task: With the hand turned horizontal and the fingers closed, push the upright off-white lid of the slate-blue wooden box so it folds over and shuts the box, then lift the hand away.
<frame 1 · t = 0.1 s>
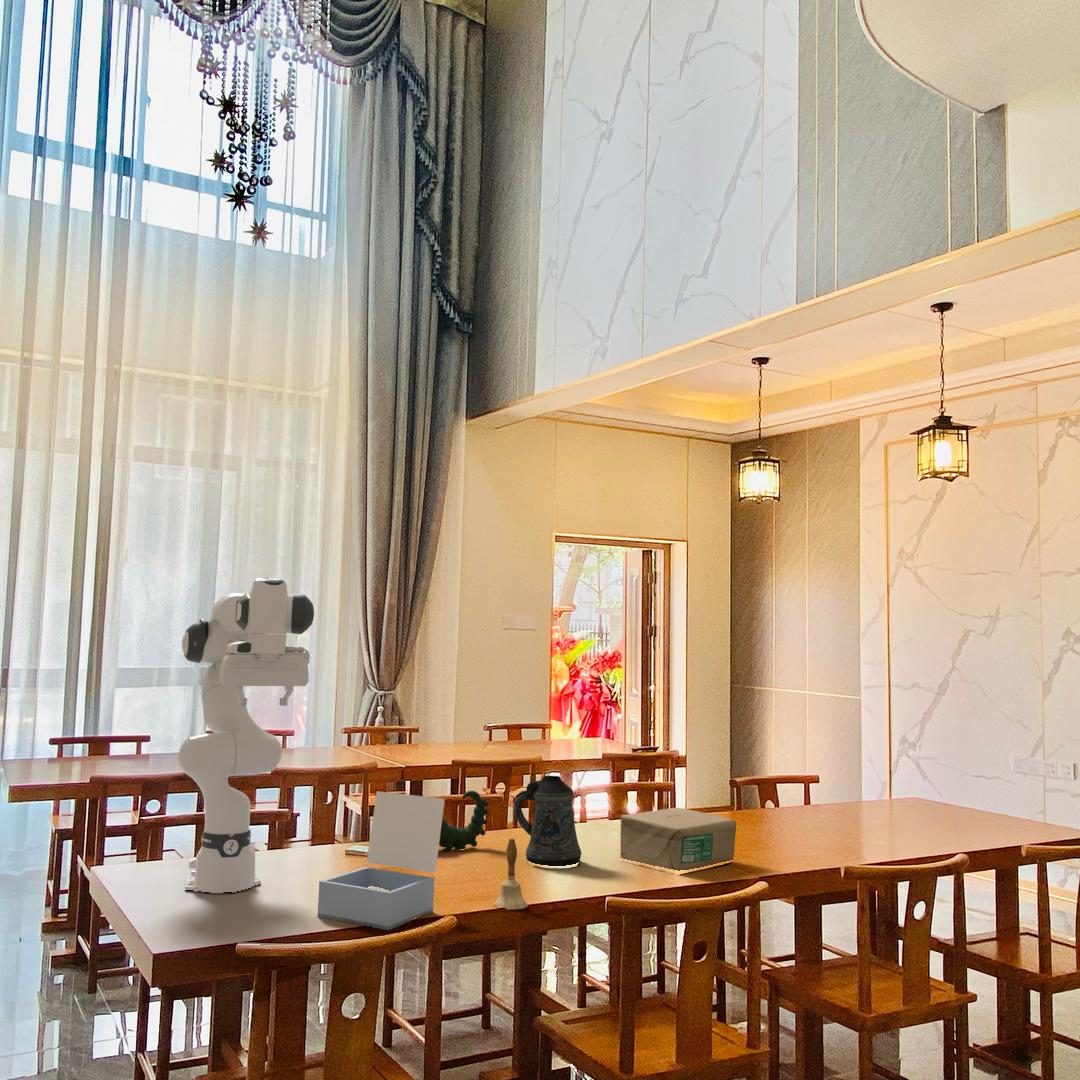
hand: (263, 705, 235), 48 cm above the table, tool pointing down, fingers open, 8 cm apart
beer stein: (548, 864, 296), on the table
lid: (405, 830, 247), point 18 cm above the table, hinge at 100.0°
box: (376, 914, 236), on the table
hand bell: (510, 906, 247), on the table
toy figurine: (447, 851, 311), on the table
paper package: (676, 863, 302), on the table
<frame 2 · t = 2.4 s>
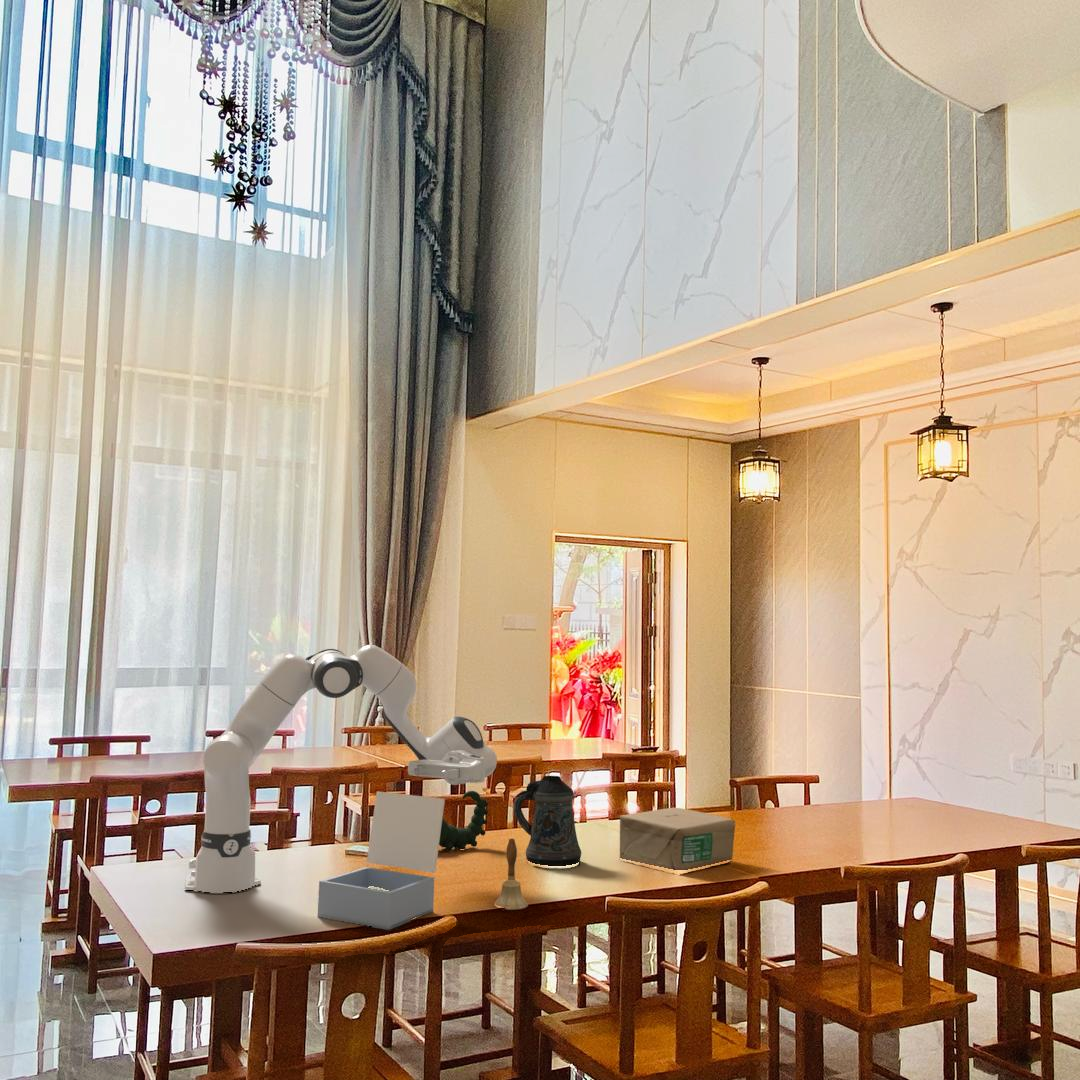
hand: (427, 773, 256), 31 cm above the table, tool horizontal, fingers open, 8 cm apart
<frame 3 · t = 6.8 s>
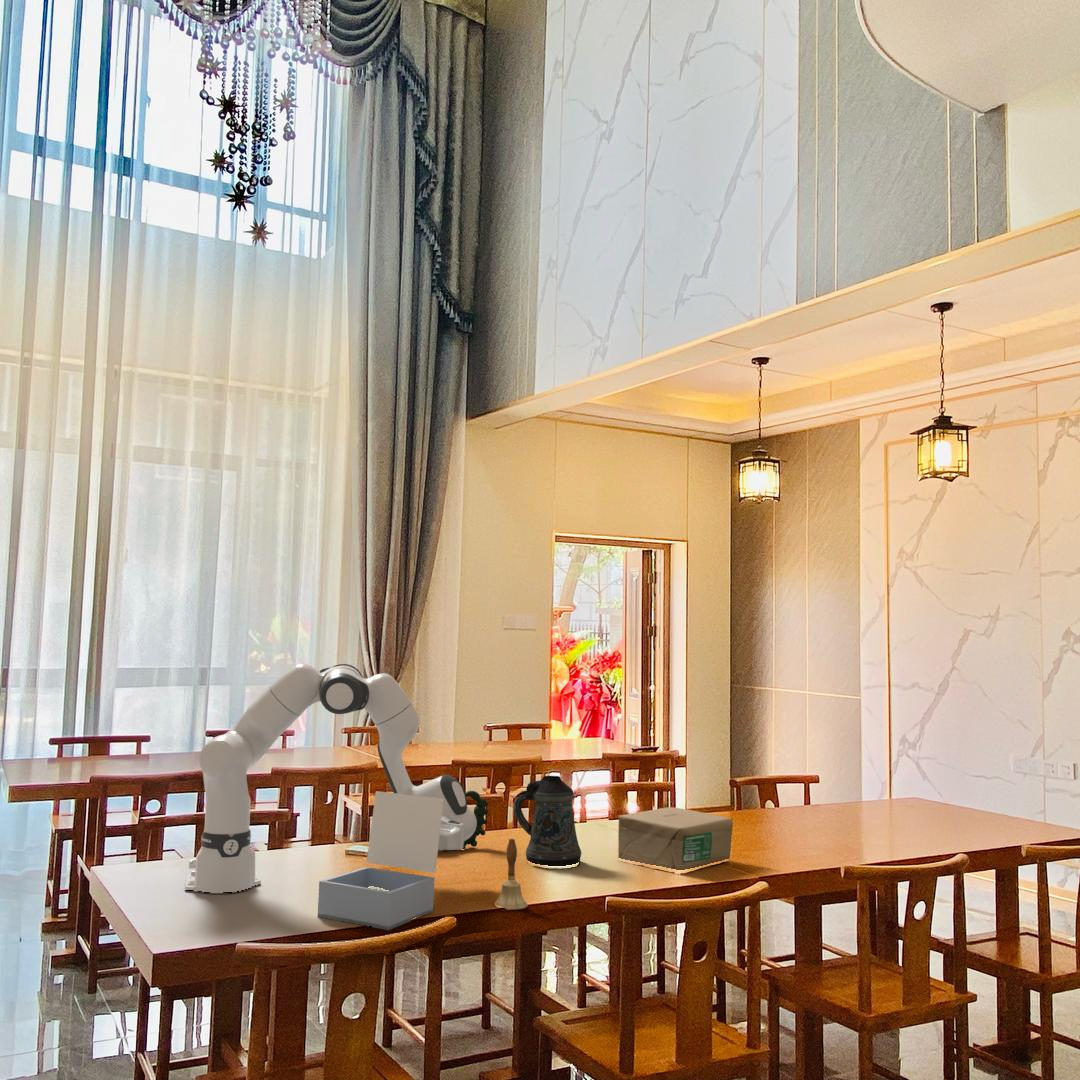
hand: (404, 841, 247), 15 cm above the table, tool horizontal, fingers closed, pressing on lid
lid: (405, 830, 247), point 18 cm above the table, hinge at 98.6°, touching gripper
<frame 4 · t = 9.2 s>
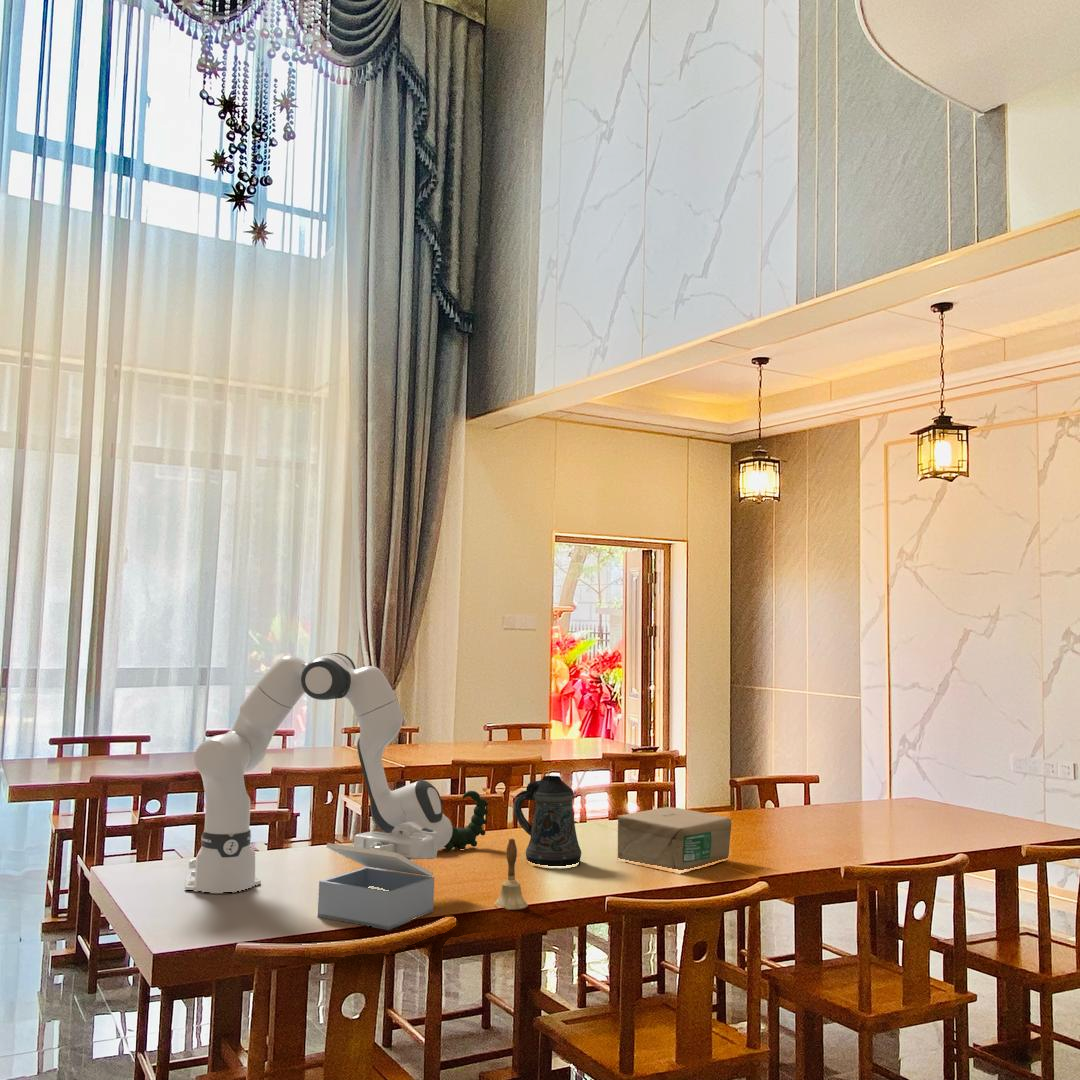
hand: (374, 850, 236), 15 cm above the table, tool horizontal, fingers closed
lid: (380, 859, 238), point 12 cm above the table, hinge at 24.7°
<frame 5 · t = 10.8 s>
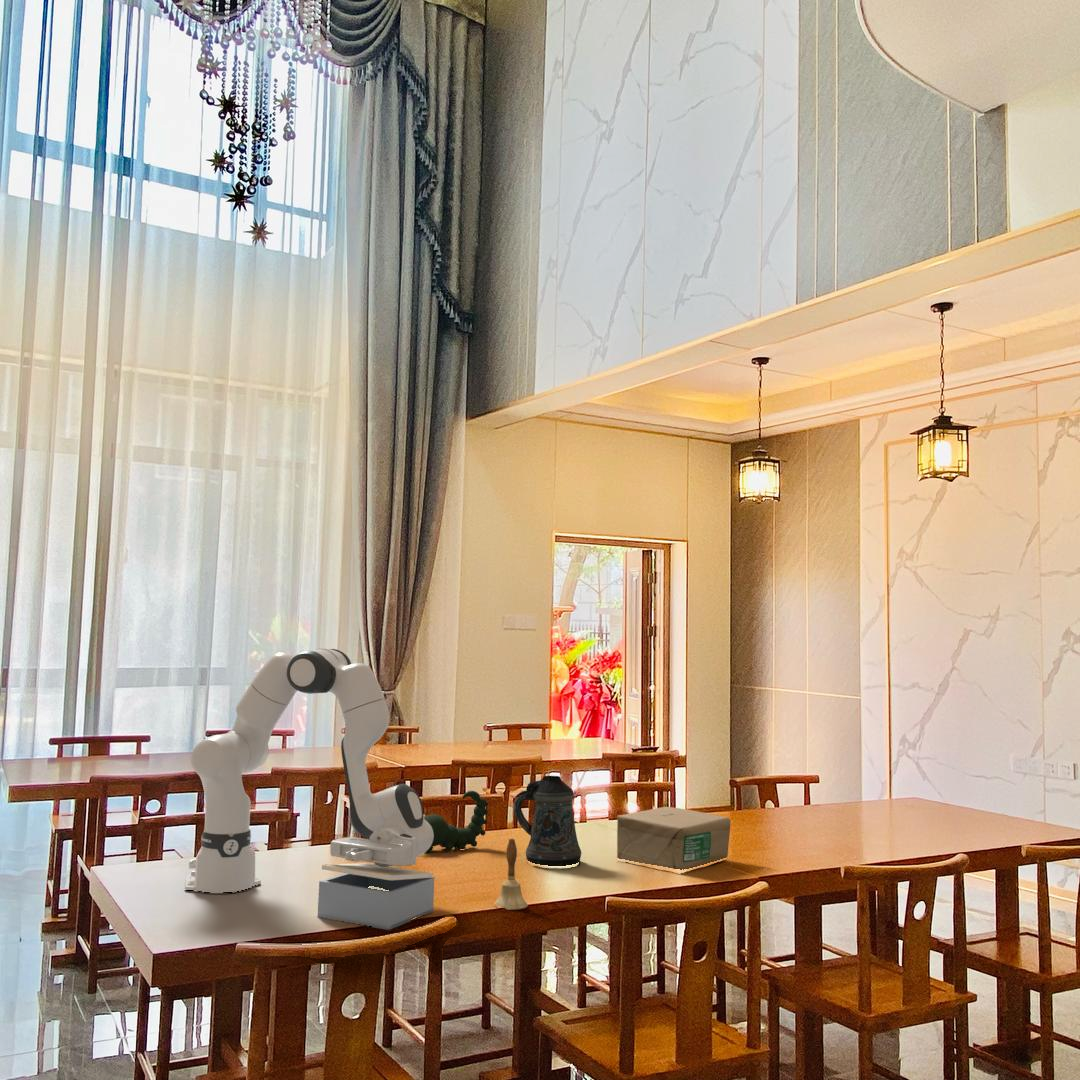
hand: (350, 857, 228), 15 cm above the table, tool horizontal, fingers closed
lid: (378, 870, 237), point 10 cm above the table, hinge at 8.6°
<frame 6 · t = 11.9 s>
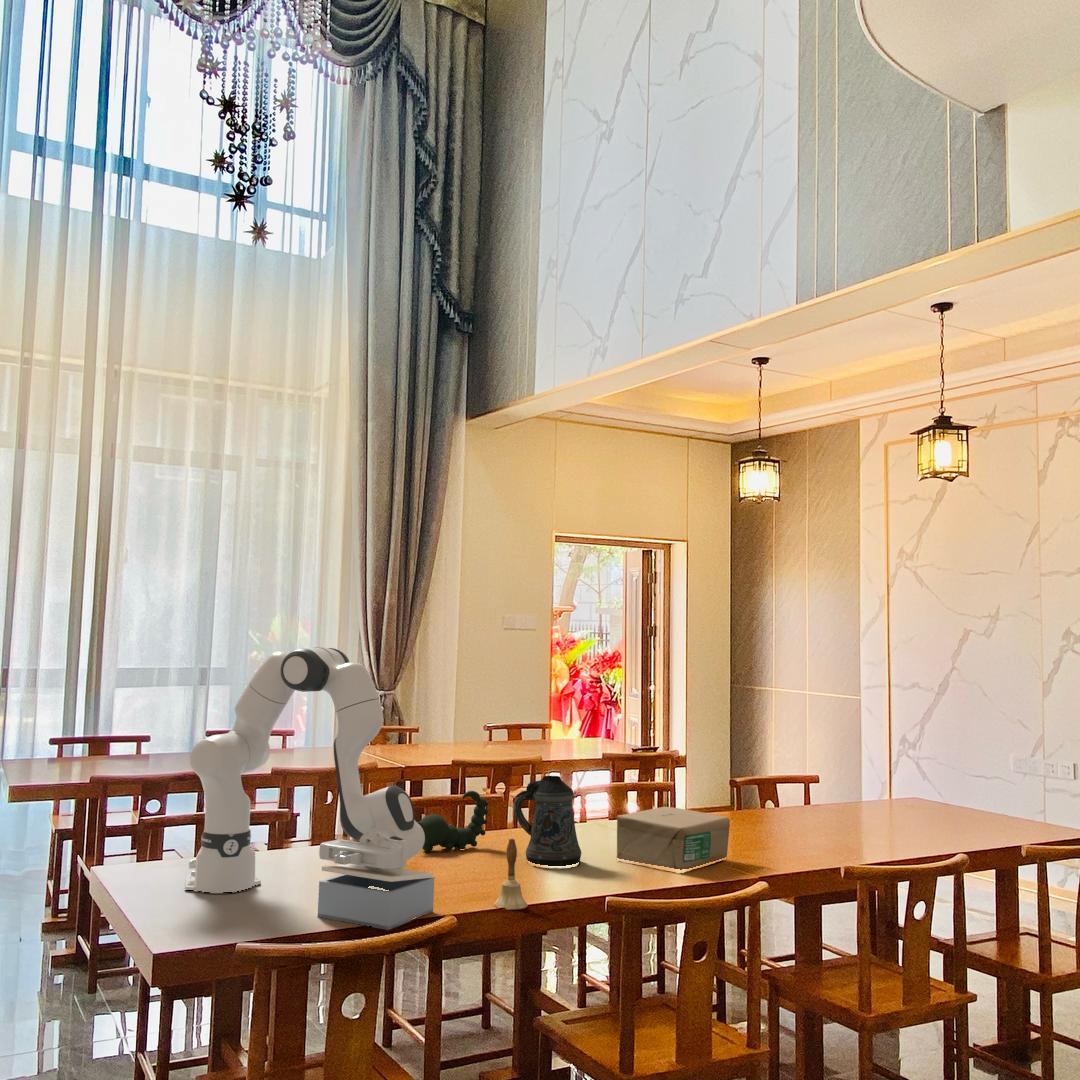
hand: (339, 860, 224), 15 cm above the table, tool horizontal, fingers closed
lid: (377, 871, 237), point 10 cm above the table, hinge at 7.6°
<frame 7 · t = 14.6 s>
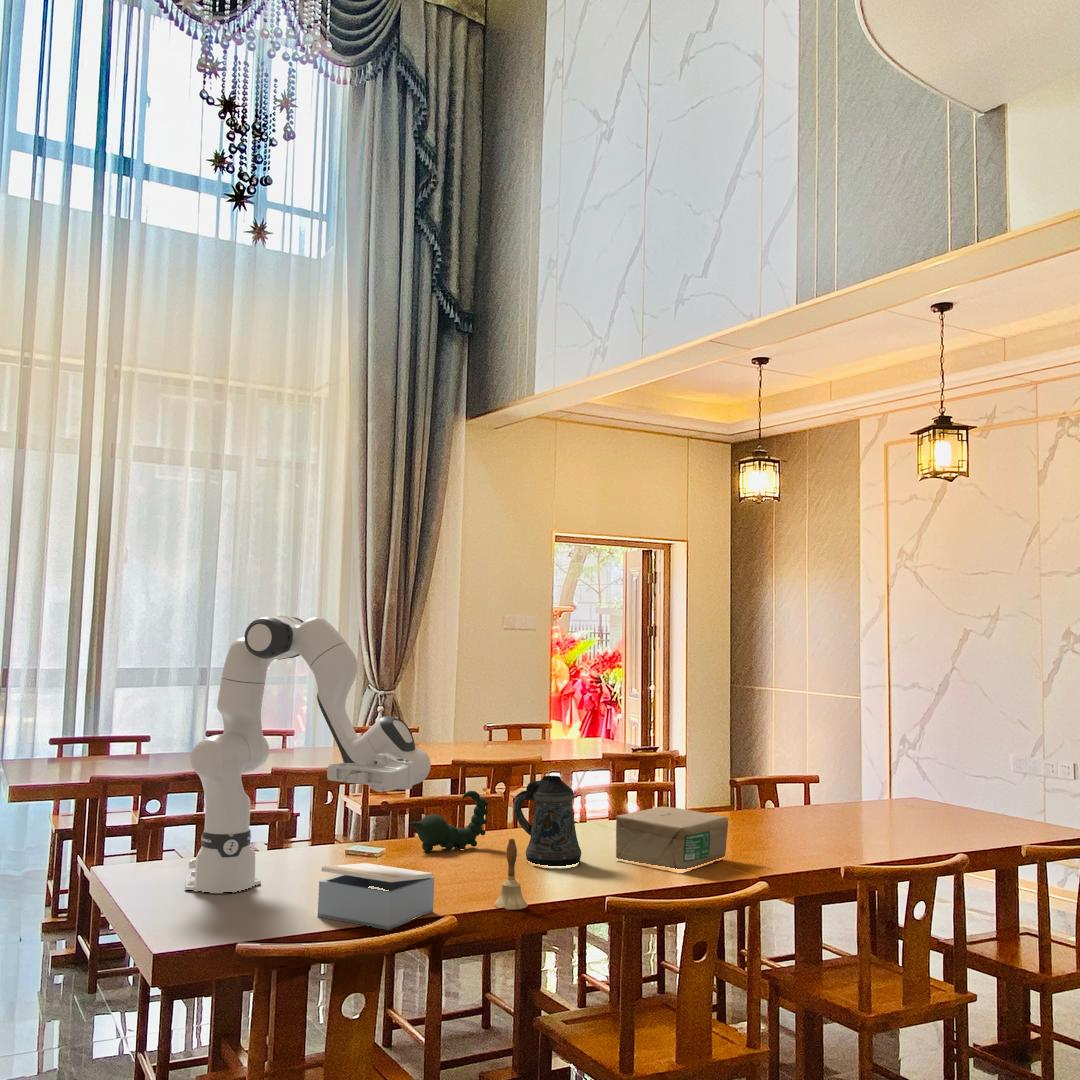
hand: (346, 778, 228), 33 cm above the table, tool horizontal, fingers closed
lid: (377, 871, 237), point 10 cm above the table, hinge at 7.3°
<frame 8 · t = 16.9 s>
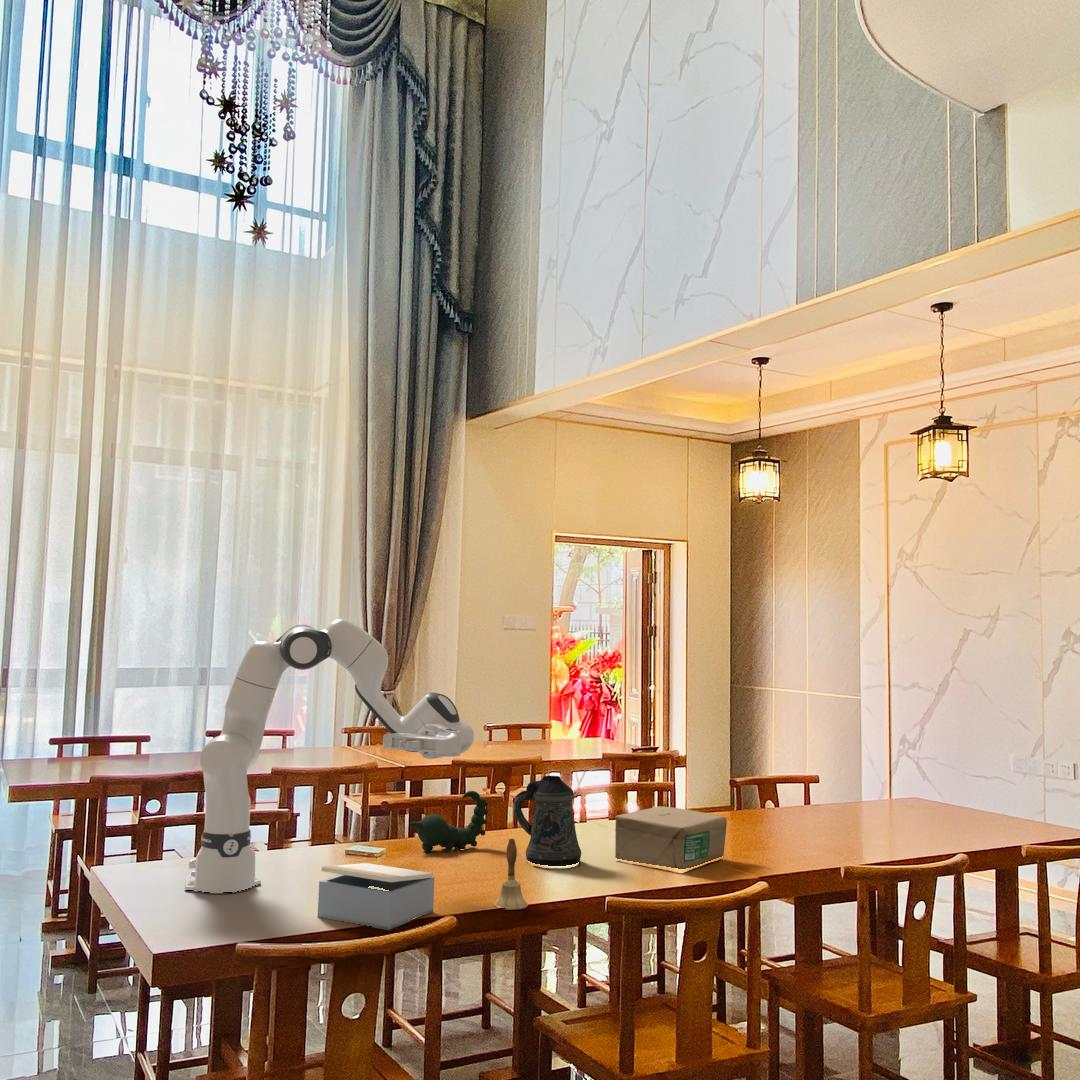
hand: (402, 745, 251), 38 cm above the table, tool horizontal, fingers closed
at the end: lid at +7° (first picture: +100°) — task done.
